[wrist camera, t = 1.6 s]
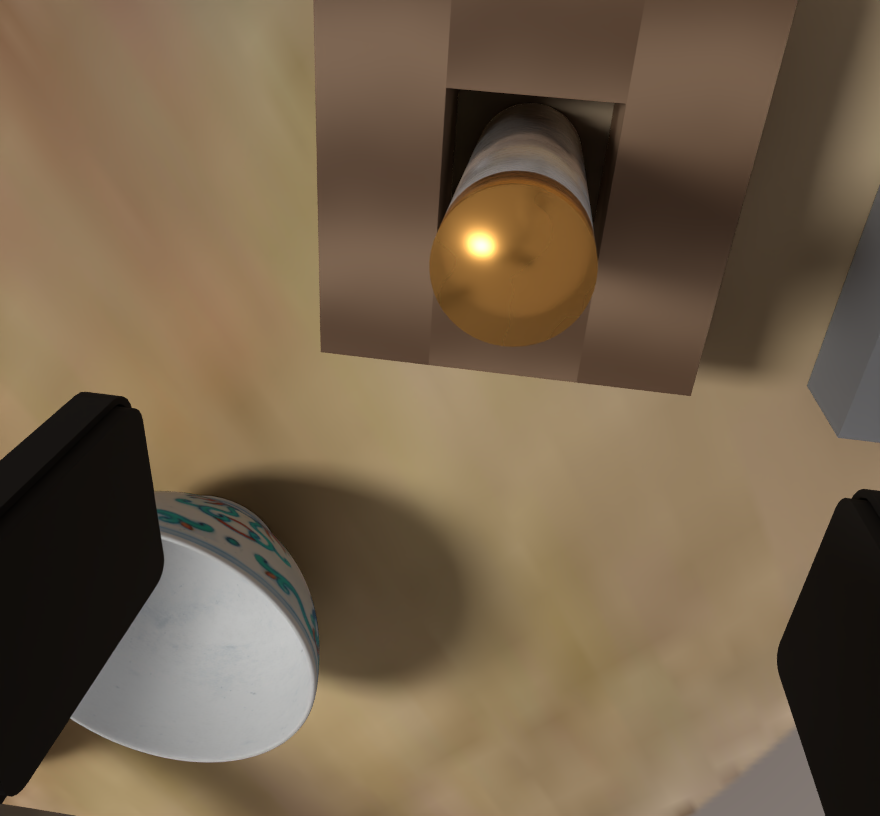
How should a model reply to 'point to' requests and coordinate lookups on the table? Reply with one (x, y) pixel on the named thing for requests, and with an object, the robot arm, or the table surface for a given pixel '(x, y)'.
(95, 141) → the table surface
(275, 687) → the chinaware
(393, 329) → the socket block
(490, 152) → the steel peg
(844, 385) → the gray cinder block
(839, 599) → the robot arm
